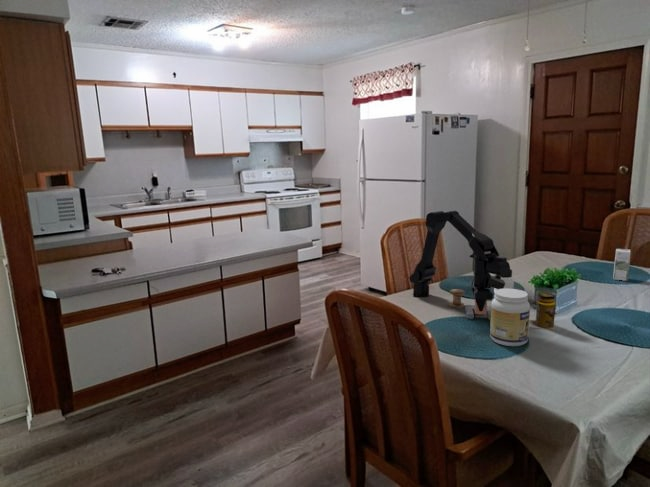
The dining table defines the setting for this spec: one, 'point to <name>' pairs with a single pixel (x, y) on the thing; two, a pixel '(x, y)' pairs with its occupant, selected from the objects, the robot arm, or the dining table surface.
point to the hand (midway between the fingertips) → (480, 309)
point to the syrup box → (621, 264)
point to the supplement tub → (510, 317)
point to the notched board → (470, 311)
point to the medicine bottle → (507, 281)
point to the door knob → (457, 298)
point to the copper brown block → (478, 309)
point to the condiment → (544, 312)
